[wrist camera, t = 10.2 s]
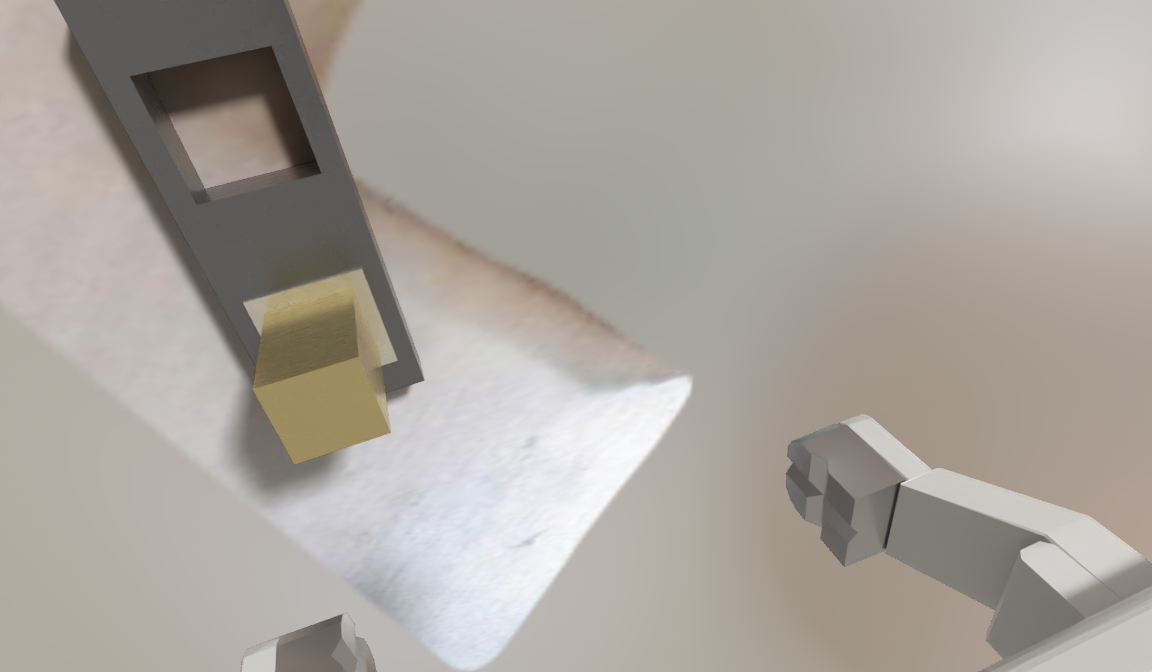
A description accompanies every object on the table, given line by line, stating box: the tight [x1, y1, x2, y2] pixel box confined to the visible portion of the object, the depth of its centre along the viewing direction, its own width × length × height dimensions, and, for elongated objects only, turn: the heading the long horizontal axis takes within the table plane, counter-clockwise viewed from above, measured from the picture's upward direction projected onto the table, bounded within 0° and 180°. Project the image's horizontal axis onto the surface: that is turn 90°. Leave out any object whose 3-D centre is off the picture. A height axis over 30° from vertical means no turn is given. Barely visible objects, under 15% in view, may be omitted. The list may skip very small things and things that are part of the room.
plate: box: [54, 0, 424, 393], centre depth 32 cm, size 22×8×3 cm, turn 10°
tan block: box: [252, 288, 391, 464], centre depth 31 cm, size 4×4×7 cm
